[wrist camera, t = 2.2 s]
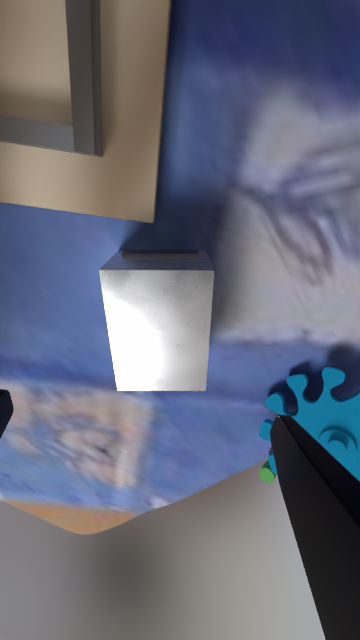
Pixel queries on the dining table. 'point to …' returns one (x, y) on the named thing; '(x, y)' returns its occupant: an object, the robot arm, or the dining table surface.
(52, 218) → the dining table surface
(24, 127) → the dock
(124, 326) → the block
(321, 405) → the gear
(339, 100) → the dining table surface
